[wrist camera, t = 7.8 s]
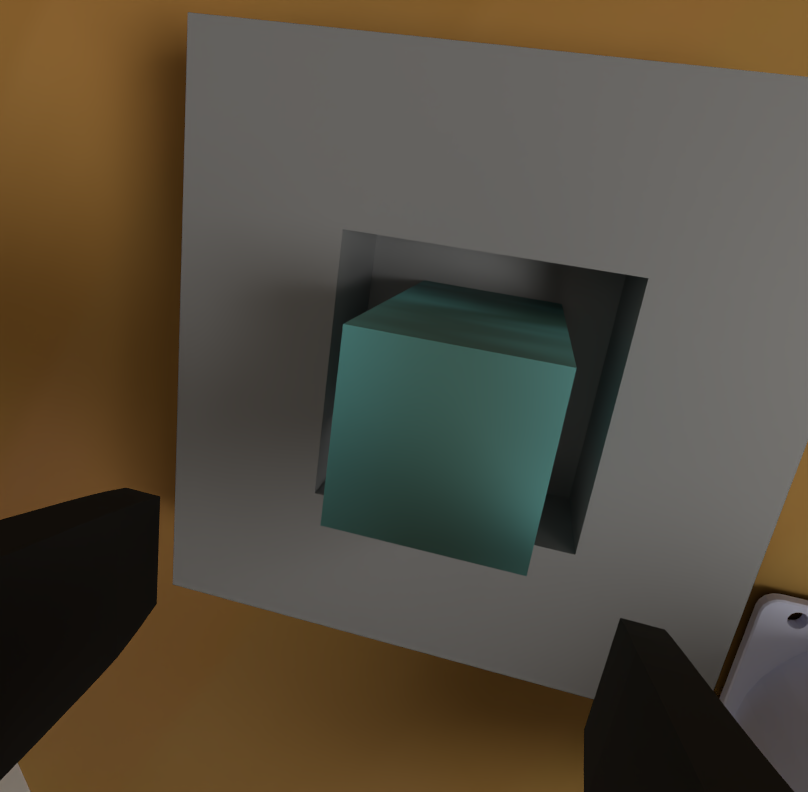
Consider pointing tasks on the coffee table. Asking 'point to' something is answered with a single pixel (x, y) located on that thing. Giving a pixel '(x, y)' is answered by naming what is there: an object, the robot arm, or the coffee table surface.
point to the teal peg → (449, 422)
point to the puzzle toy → (14, 781)
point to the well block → (507, 274)
